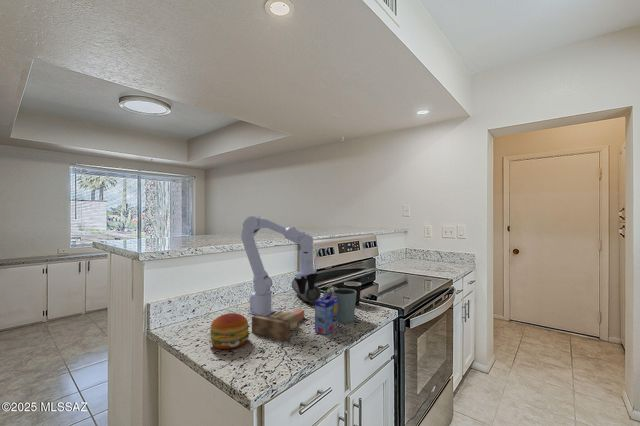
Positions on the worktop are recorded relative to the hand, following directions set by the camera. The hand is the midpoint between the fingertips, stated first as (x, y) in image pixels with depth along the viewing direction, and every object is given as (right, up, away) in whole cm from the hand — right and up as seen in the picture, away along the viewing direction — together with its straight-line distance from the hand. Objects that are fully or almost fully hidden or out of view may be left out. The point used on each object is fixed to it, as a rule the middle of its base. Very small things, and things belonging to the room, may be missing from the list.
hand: (306, 291), depth 132 cm
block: (-8, -10, -16) cm, 20 cm away
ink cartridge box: (+9, -10, -18) cm, 22 cm away
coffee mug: (+21, -10, +14) cm, 27 cm away
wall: (-12, -10, -23) cm, 28 cm away
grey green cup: (+16, -10, -7) cm, 21 cm away
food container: (+12, -10, +3) cm, 16 cm away
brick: (-4, -10, -8) cm, 13 cm away
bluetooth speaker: (-2, -10, +23) cm, 25 cm away
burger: (-26, -11, -29) cm, 40 cm away
